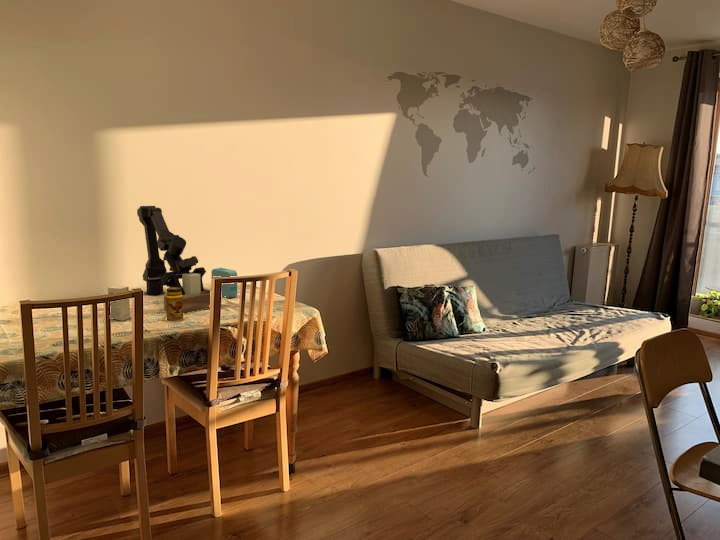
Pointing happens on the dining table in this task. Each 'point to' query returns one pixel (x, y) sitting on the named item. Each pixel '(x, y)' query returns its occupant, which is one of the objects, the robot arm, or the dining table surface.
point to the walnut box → (194, 302)
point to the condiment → (174, 305)
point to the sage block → (191, 284)
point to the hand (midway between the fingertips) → (193, 292)
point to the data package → (227, 289)
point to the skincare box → (119, 304)
